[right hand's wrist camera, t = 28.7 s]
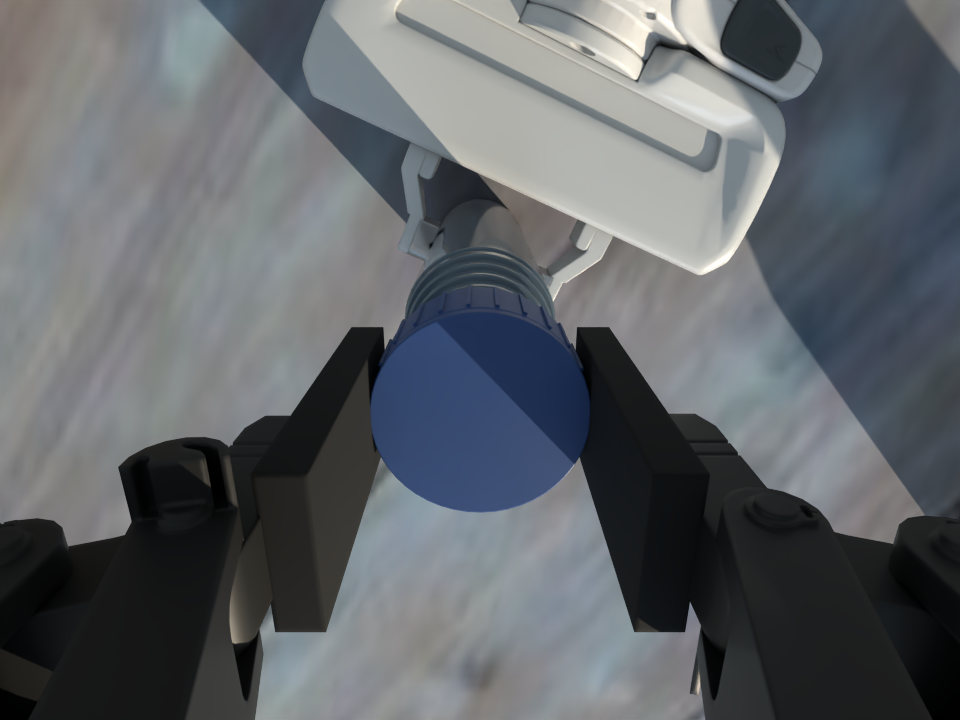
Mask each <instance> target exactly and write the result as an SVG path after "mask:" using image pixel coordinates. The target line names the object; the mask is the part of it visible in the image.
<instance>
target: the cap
mask: <svg viewBox="0 0 960 720" xmlns="http://www.w3.org/2000/svg"><path fill="white" fill-rule="evenodd" d="M378 366H380V370H379V372H378V374H377V376H376V379H375V381H374V385H373V388H372V392H371V398H370V414H371V427H372V436H373V439H374V442H375V445H376V447H377V450H378V452H379V454H380V456H381V458H382V459H383V461H384V462H385V464H386V466H387V467H388V468H389V470H390V471H391V472H392V473H393V474H394V476H395V477H396V478H397V479H398V480H399V481H400V482H401V483H403V484H404V485H405V486H406V487H407V488H408V489H410V490H411V491H413V492H414V493H415V494H417V495H419V496H421V497H422V498H424V499H426V500H428V501H430V502H432V503H435V504H437V505H440V506H443V507H446V508H450V509H454V510H460V511H466V512H495V511H501V510H507V509H510V508H514V507H517V506H521V505H523V504H525V503H528V502H530V501H533V500H534V499H536V498H538V497H540V496H542V495H543V494H545V493H546V492H548V491H549V490H550V489H552V488H553V487H555V486H556V485H557V484H558V483H559V482H560V481H561V480H562V479H563V478H564V477H565V476H566V475H567V474H568V472H569V471H570V470H571V469H572V468H573V466H574V465H575V463H576V461H577V460H578V458H579V457H580V455H581V453H582V450H583V448H584V446H585V444H586V440H587V437H588V432H589V420H590V405H591V404H590V395H589V390H588V387H587V384H586V380H585V378H584V375H583V373H582V371H584V368H583V366H582V364H581V361H580V359H579V357H578V355H577V353H576V350H575V348H574V346H573V344H572V343H571V344H570V343H569V340H568V338H567V336H566V334H565V331H564V329H563V327H562V325H561V323H558V324H557V323H556V321H555V320H554V319H553V318H552V317H551V316H550V315H549V314H548V313H547V312H546V310H545V308H544V307H543V306H541V307H539V306H538V305H536V304H535V303H533V302H532V301H530V300H528V299H526V298H524V297H523V294H521V293H519V295H517V294H514V293H511V292H508V291H505V290H499V289H498V287H495V286H494V288H472V287H471V286H468V288H466V289H461V290H456V291H452V292H449V293H446V291H445V292H442V295H440V296H438V297H436V298H434V299H432V300H430V301H428V302H427V303H425V304H423V303H421V304H420V305H419V308H418V309H417V310H416V311H415V312H414V313H413V314H411V315H410V316H409V317H408V318H407V320H405V319H403V320H402V322H401V324H400V326H399V328H398V331H397V333H396V335H395V336H394V338H393V340H391V339H390V340H389V342H388V345H387V347H386V349H385V351H384V353H383V356H382V358H381V360H380V362H379V364H378Z"/></svg>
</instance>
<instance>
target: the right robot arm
mask: <svg viewBox="0 0 960 720" xmlns="http://www.w3.org/2000/svg"><path fill="white" fill-rule="evenodd" d="M384 351H385V348H384V331H383V327H351V329H350V330H349V332H348V333H347V335H346V336H345V338H344V339H343V340H342V342H341V343H340V345H339V346H338V348H337V349H336V351H335V352H334V353H333V355H332V356H331V358H330V359H329V361H328V362H327V364H326V365H325V367H324V368H323V369H322V371H321V372H320V374H319V375H318V377H317V378H316V380H315V381H314V382H313V384H312V385H311V387H310V388H309V390H308V391H307V393H306V394H305V396H304V397H303V398H302V400H301V401H300V403H299V404H298V406H297V407H296V409H295V410H294V411H293V413H292V414H291V416H264V417H263V418H261V419H259V420H258V421H256V422H254V423H253V424H251V425H249V426H248V427H246V428H245V429H244V430H243V431H242V432H241V433H240V435H239V436H238V437H237V438H236V439H235V441H234V442H233V445H231V446H230V447H229V448H228V446H227V445H225V444H224V443H223V442H221V441H220V440H216V439H211V438H207V437H186V438H181V439H175V440H170V441H165V442H162V443H159V444H156V445H153V446H150V447H147V448H145V449H143V450H141V451H139V452H137V453H135V454H134V455H132V456H130V457H128V458H127V459H126V460H125V461H124V462H123V463H122V464H121V465H120V466H119V467H118V468H119V472H120V476H121V480H122V484H123V488H124V492H125V496H126V500H127V504H128V508H129V512H130V516H131V520H132V523H131V525H130V526H129V528H128V530H127V532H126V534H125V535H123V536H119V537H115V538H111V539H105V540H100V541H95V542H90V543H84V544H79V545H74V546H69V547H68V545H67V542H66V538H65V535H64V532H63V528H62V527H61V526H60V525H58V524H57V523H56V522H54V521H52V520H45V519H38V518H36V519H26V520H13V521H8V522H4V524H1V523H0V720H255V714H256V707H257V699H258V691H259V684H260V676H261V669H262V661H263V648H262V641H261V635H260V629H259V628H260V626H261V624H262V622H263V619H264V617H265V615H266V613H267V611H268V608H269V606H270V604H271V608H272V614H273V620H274V627H275V632H326V630H327V627H328V624H329V621H330V618H331V614H332V611H333V608H334V605H335V602H336V598H337V595H338V592H339V589H340V586H341V582H342V579H343V576H344V573H345V570H346V566H347V563H348V560H349V557H350V554H351V551H352V547H353V544H354V541H355V538H356V535H357V531H358V528H359V525H360V522H361V519H362V515H363V512H364V509H365V506H366V503H367V500H368V496H369V493H370V490H371V487H372V484H373V480H374V477H375V474H376V471H377V468H378V464H379V461H380V458H381V456H380V454H379V452H378V450H377V447H376V445H375V442H374V439H373V436H372V427H371V414H370V398H371V392H372V388H373V385H374V381H375V379H376V376H377V374H378V372H379V370H380V366H378V364H379V362H380V360H381V358H382V356H383V353H384ZM576 353H577V355H578V357H579V359H580V361H581V364H582V366H583V368H584V371H582V373H583V375H584V378H585V380H586V384H587V387H588V390H589V395H590V404H591V405H590V420H589V432H588V437H587V440H586V444H585V446H584V448H583V450H582V453H581V455H580V460H581V463H582V466H583V470H584V473H585V476H586V479H587V482H588V486H589V489H590V492H591V495H592V498H593V501H594V505H595V508H596V511H597V514H598V517H599V521H600V524H601V527H602V530H603V533H604V537H605V540H606V543H607V546H608V549H609V552H610V556H611V559H612V562H613V565H614V568H615V572H616V575H617V578H618V581H619V584H620V588H621V591H622V594H623V597H624V600H625V604H626V607H627V610H628V613H629V616H630V619H631V623H632V626H633V629H634V632H685V629H686V623H687V617H688V610H689V604H690V602H691V604H692V607H693V609H694V611H695V613H696V615H697V618H698V620H699V622H700V624H701V629H700V635H699V641H698V647H697V652H696V658H695V664H694V670H693V676H692V682H691V689H690V694H695V695H698V692H699V687H700V682H701V690H702V698H703V705H704V713H705V720H960V522H959V521H958V520H957V519H952V518H947V517H943V518H942V517H932V516H918V517H911V518H907V519H906V520H905V521H903V522H902V523H901V524H899V527H898V530H897V534H896V537H895V540H894V543H893V544H890V543H885V542H880V541H874V540H869V539H864V538H859V537H853V536H848V535H844V534H840V533H836V532H834V531H833V529H832V527H831V525H830V523H829V522H828V520H827V519H826V518H825V517H824V516H823V514H822V513H821V512H820V511H819V510H818V509H817V508H815V507H814V506H812V505H811V504H809V503H808V502H806V501H804V500H803V499H801V498H798V497H796V496H793V495H791V494H788V493H785V492H782V491H778V490H773V489H768V488H767V487H766V486H765V485H764V484H763V482H762V481H761V480H760V479H759V478H758V476H757V475H756V474H755V473H754V472H753V470H752V469H751V468H750V467H749V466H748V464H747V463H746V462H745V461H744V459H743V458H742V457H741V456H738V452H737V451H736V450H735V449H734V447H733V446H732V445H731V444H730V443H728V440H727V439H726V438H725V437H724V435H723V434H722V433H721V432H720V430H719V429H718V428H717V427H716V426H715V425H713V424H711V423H710V422H708V421H706V420H705V419H703V418H701V417H700V416H698V415H696V414H668V412H667V411H666V409H665V408H664V407H663V405H662V404H661V402H660V401H659V399H658V398H657V396H656V395H655V393H654V392H653V391H652V389H651V388H650V386H649V385H648V383H647V382H646V380H645V379H644V378H643V376H642V375H641V373H640V372H639V370H638V369H637V367H636V366H635V364H634V363H633V362H632V360H631V359H630V357H629V356H628V354H627V353H626V351H625V350H624V349H623V347H622V346H621V344H620V343H619V341H618V340H617V338H616V337H615V335H614V334H613V333H612V331H611V330H610V328H609V327H577V338H576Z"/></svg>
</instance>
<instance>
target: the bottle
mask: <svg viewBox="0 0 960 720" xmlns="http://www.w3.org/2000/svg"><path fill="white" fill-rule="evenodd" d="M468 286H471V287H472V288H494V286H495V287H498V289H499V290H505V291H508V292H511V293H514V294H517V295H519V293H521V294H523V297H524V298H526V299H528V300H530V301H532V302H533V303H535V304H536V305H538V306H539V307H541V306H543V307H544V308H545V310H546V312H547V313H548V314H549V315H550V316H551V317H552V318H553V319H554V320H555V310H554V304H553V300H552V297H551V294H550V291H549V289H548V287H547V285H546V282H545V280H544V278H543V276H542V274H541V272H540V269H539V267H538V265H537V263H536V261H535V259H534V257H533V254H532V252H531V250H530V248H529V246H528V244H527V241H526V239H525V237H524V235H523V233H522V231H521V228H520V226H519V224H518V222H517V220H516V219H515V217H514V216H513V214H512V213H511V212H510V211H509V210H508V209H506V208H505V207H504V206H502V205H501V204H499V203H497V202H494V201H491V200H486V199H474V200H469V201H466V202H463V203H461V204H459V205H458V206H456V207H455V208H454V209H452V210H451V211H450V212H449V213H448V214H447V216H446V217H445V219H444V220H443V222H442V225H441V227H440V230H439V232H438V234H437V237H436V238H435V240H434V242H433V244H432V246H431V248H430V250H429V252H428V255H427V257H426V259H425V261H424V263H423V265H422V268H421V270H420V272H419V274H418V276H417V278H416V281H415V283H414V285H413V287H412V289H411V292H410V295H409V297H408V300H407V305H406V311H405V320H407V318H408V317H409V316H410V315H411V314H413V313H414V312H415V311H416V310H417V309H418V308H419V305H420V304H421V303H423V304H425V303H427V302H428V301H430V300H432V299H434V298H436V297H438V296H440V295H442V292H445V291H446V293H449V292H452V291H456V290H461V289H466V288H468Z"/></svg>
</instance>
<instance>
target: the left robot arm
mask: <svg viewBox="0 0 960 720" xmlns="http://www.w3.org/2000/svg"><path fill="white" fill-rule="evenodd" d="M822 56H823V55H822V49H821V47H820V44H819V43H818V41H817V39H816V38H815V37H814V35H813V34H812V33H811V32H810V30H809V29H808V28H807V27H806V26H805V24H804V23H803V22H802V21H801V20H800V18H799V17H798V16H797V15H796V14H795V12H794V11H793V10H792V9H791V8H790V6H789V5H788V4H787V3H786V1H785V0H325V1H324V4H323V6H322V8H321V11H320V13H319V16H318V18H317V21H316V23H315V25H314V28H313V31H312V33H311V36H310V39H309V42H308V44H307V47H306V50H305V54H304V57H303V63H302V67H303V71H304V75H305V78H306V81H307V84H308V86H309V89H310V92H311V94H312V95H313V96H314V97H315V98H317V99H319V100H321V101H323V102H325V103H328V104H330V105H332V106H334V107H336V108H338V109H341V110H343V111H345V112H347V113H349V114H351V115H354V116H356V117H358V118H360V119H362V120H364V121H367V122H369V123H371V124H373V125H375V126H377V127H379V128H382V129H384V130H386V131H388V132H390V133H392V134H395V135H397V136H399V137H401V138H403V139H405V140H408V141H410V145H409V148H408V150H407V153H406V156H405V158H404V161H403V164H402V166H401V172H402V178H403V185H404V191H405V198H406V205H407V211H408V213H409V214H410V217H409V219H408V222H407V224H406V227H405V229H404V232H403V234H402V237H401V240H400V242H399V245H398V250H400V251H402V252H404V253H406V254H409V255H411V256H414V257H416V258H419V259H421V260H423V261H425V259H426V257H427V255H428V252H429V250H430V248H431V246H432V244H433V242H434V240H435V238H436V237H437V234H438V232H439V230H440V227H441V225H442V223H441V222H439V221H437V220H435V219H432V218H430V217H428V216H427V211H426V202H425V194H424V186H423V178H425V179H428V180H429V179H431V178H432V177H434V176H435V174H436V171H437V169H438V166H439V164H440V161H441V159H442V157H444V158H446V159H449V160H451V161H453V162H455V163H457V164H459V165H462V166H464V167H466V168H468V169H470V170H472V171H474V172H477V173H479V174H481V175H483V176H485V177H487V178H490V179H492V180H494V181H496V182H498V183H500V184H503V185H505V186H507V187H509V188H511V189H513V190H516V191H518V192H520V193H522V194H524V195H526V196H528V197H531V198H533V199H535V200H537V201H539V202H541V203H544V204H546V205H548V206H550V207H552V208H554V209H557V210H559V211H561V212H563V213H565V214H567V215H569V216H572V217H574V218H576V219H578V220H577V222H576V224H575V226H574V228H573V231H572V233H571V235H570V237H569V238H570V240H571V242H572V243H573V244H574V245H575V246H576V247H575V248H574V249H572V250H571V251H570V252H568V253H567V254H566V255H564V256H563V257H561V258H560V259H559V260H557V261H556V262H555V263H553V264H552V265H551V266H549V267H548V268H547V269H545V268H542V267H540V266H538V267H539V269H540V272H541V274H542V276H543V278H544V280H545V282H546V285H547V287H548V289H549V291H550V294H551V297H552V300H553V301H554V299H555V297H556V295H557V293H558V291H559V289H560V287H561V285H562V283H563V282H564V283H566V282H568V281H569V280H571V279H572V278H574V277H575V276H577V275H578V274H580V273H581V272H583V271H584V270H586V269H587V268H589V267H590V266H592V265H593V264H595V263H596V262H598V261H599V260H601V258H602V256H603V255H604V253H605V251H606V249H607V247H608V245H609V243H610V241H611V239H612V237H613V236H615V237H617V238H619V239H621V240H623V241H626V242H628V243H630V244H632V245H634V246H636V247H639V248H641V249H643V250H645V251H647V252H649V253H652V254H654V255H656V256H658V257H660V258H662V259H665V260H667V261H669V262H671V263H673V264H675V265H677V266H680V267H682V268H684V269H686V270H688V271H691V272H693V273H695V274H697V275H703V274H706V273H708V272H710V271H712V270H714V269H716V268H718V267H720V266H722V265H724V264H725V263H726V262H728V260H729V259H730V258H731V257H732V255H733V254H734V252H735V251H736V249H737V248H738V246H739V244H740V243H741V241H742V239H743V238H744V236H745V234H746V232H747V230H748V229H749V227H750V225H751V223H752V221H753V219H754V217H755V215H756V213H757V211H758V210H759V207H760V205H761V203H762V201H763V199H764V197H765V195H766V193H767V191H768V189H769V186H770V184H771V182H772V180H773V177H774V175H775V173H776V170H777V168H778V166H779V163H780V160H781V157H782V154H783V150H784V146H785V139H786V127H785V121H784V118H783V115H782V113H781V111H780V109H779V108H778V106H777V105H776V104H775V103H780V102H784V101H787V100H790V99H793V98H796V97H798V96H799V95H801V94H802V93H803V92H804V91H805V90H806V89H807V87H808V86H809V85H810V83H811V82H812V80H813V79H814V77H815V74H817V72H818V70H819V67H820V65H821V62H822ZM422 177H423V178H422Z"/></svg>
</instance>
